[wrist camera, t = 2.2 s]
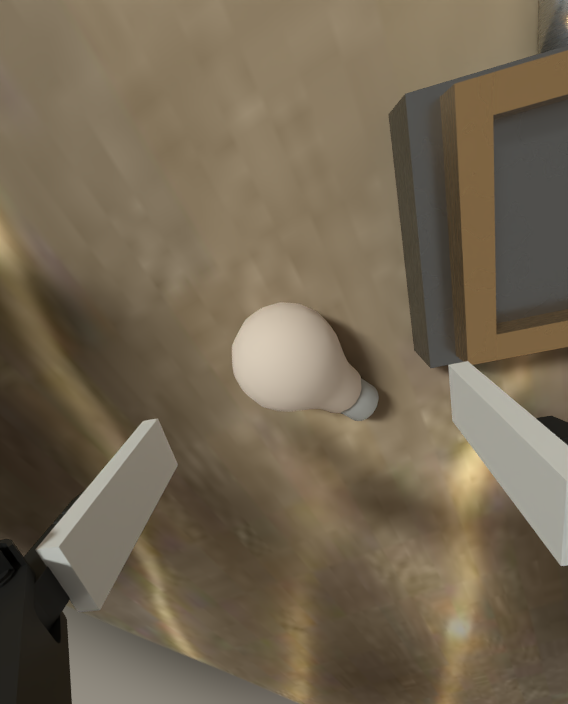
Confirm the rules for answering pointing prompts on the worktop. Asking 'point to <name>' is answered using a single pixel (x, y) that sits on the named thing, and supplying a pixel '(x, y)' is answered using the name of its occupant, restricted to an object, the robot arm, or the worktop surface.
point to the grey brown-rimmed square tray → (488, 205)
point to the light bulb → (298, 364)
